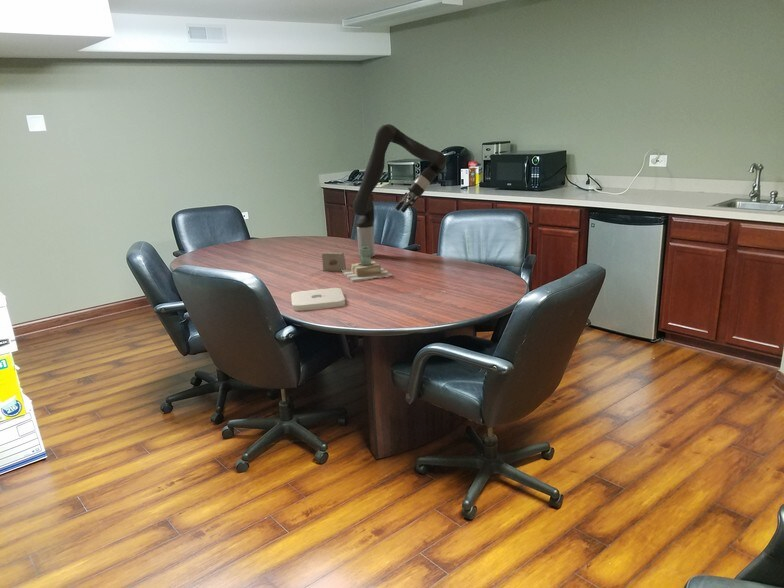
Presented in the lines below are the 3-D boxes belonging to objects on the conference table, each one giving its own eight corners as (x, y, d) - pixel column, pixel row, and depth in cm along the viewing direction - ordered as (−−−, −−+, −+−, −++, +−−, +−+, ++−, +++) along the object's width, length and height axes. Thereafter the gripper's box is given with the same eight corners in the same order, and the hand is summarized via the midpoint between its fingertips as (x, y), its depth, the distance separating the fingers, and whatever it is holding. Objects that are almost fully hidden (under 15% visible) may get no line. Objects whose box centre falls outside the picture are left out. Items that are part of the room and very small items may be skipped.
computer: (291, 298, 258) (290, 292, 257) (340, 292, 261) (340, 287, 261) (292, 312, 237) (292, 306, 236) (346, 306, 241) (345, 300, 240)
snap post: (360, 263, 290) (359, 246, 287) (368, 262, 291) (367, 245, 289) (362, 265, 286) (361, 248, 283) (371, 264, 287) (370, 247, 285)
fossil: (322, 271, 302) (321, 253, 299) (325, 269, 305) (324, 251, 303) (343, 271, 298) (342, 253, 295) (346, 270, 301) (345, 252, 298)
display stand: (341, 272, 297) (340, 262, 296) (378, 267, 303) (378, 257, 301) (352, 282, 277) (351, 271, 275) (392, 276, 283) (391, 266, 281)
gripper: (409, 180, 303) (389, 204, 303) (419, 182, 290) (398, 207, 290) (419, 189, 306) (399, 213, 306) (429, 192, 293) (409, 216, 293)
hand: (399, 210), depth 298 cm, fingers open, 8 cm apart
